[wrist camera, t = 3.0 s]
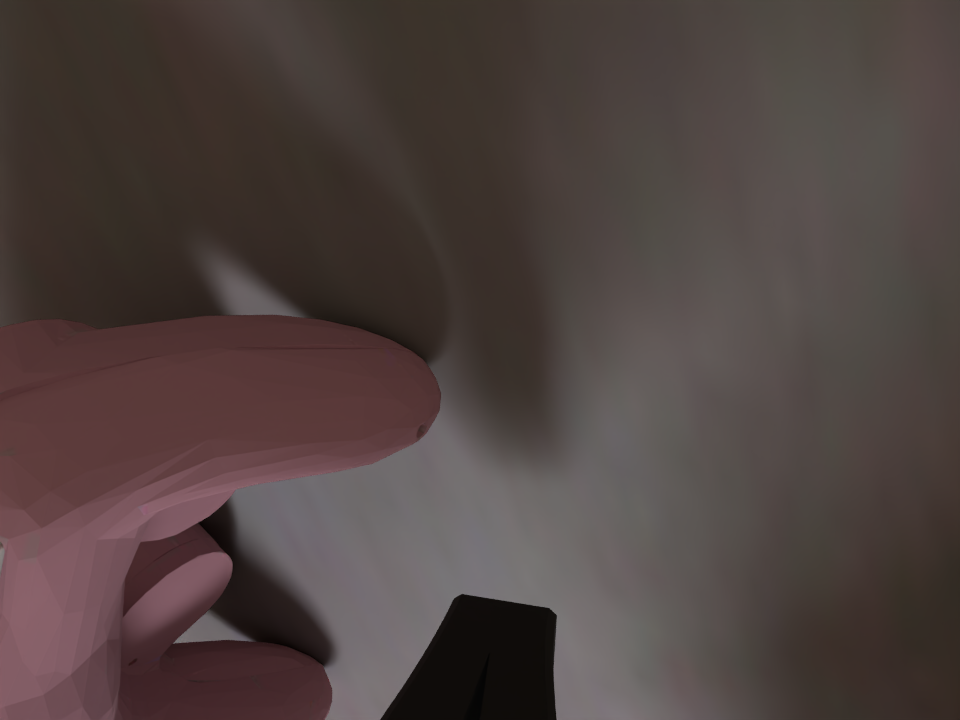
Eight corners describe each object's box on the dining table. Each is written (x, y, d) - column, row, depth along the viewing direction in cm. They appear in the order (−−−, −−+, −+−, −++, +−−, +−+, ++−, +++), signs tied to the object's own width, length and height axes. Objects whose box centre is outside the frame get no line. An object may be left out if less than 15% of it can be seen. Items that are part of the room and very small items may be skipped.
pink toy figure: (275, 206, 13) (-308, 329, 7) (485, 367, 11) (-83, 668, 6) (213, 577, 18) (-144, 793, 13) (345, 720, 17) (-6, 1033, 11)
